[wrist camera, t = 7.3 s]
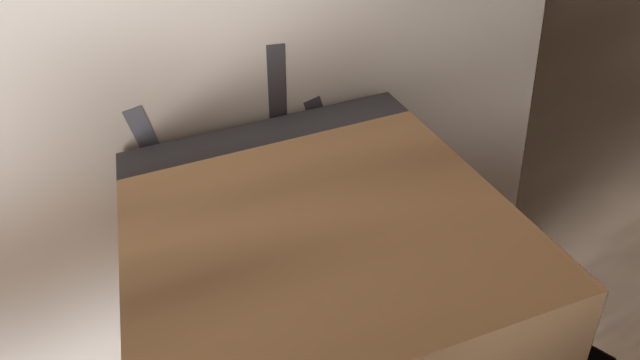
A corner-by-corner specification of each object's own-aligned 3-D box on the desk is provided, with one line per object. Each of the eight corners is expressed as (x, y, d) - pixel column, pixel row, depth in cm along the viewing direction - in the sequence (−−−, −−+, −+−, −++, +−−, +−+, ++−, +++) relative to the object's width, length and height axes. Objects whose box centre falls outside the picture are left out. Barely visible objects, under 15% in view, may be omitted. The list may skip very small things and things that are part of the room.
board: (471, 362, 16) (490, 389, 16) (103, 500, 14) (103, 540, 13) (547, -358, 7) (601, -384, 7) (-438, -321, 5) (-541, -352, 4)
